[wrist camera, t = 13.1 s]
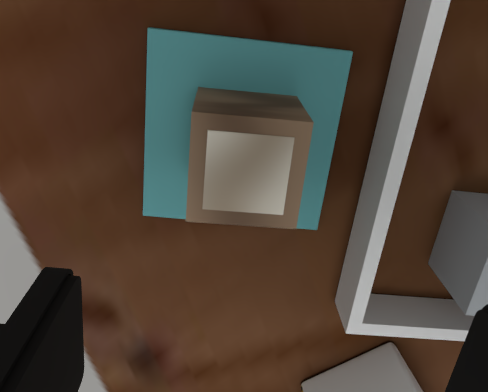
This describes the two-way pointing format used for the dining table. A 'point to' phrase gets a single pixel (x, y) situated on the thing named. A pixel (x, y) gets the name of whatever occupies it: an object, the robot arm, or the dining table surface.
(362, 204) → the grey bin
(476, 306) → the slate box
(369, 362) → the medicine bottle
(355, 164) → the dining table surface
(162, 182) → the teal mat
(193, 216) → the walnut box
